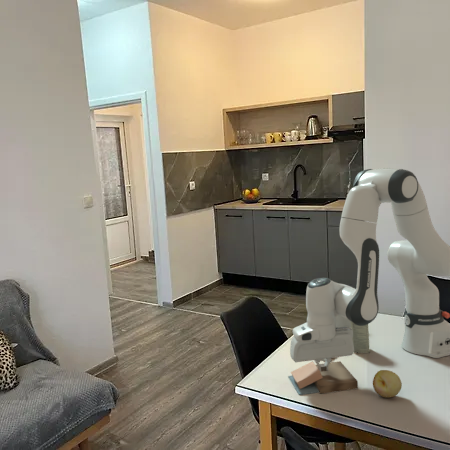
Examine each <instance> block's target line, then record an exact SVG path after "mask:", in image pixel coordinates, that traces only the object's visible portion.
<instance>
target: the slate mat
mask: <svg viewBox="0 0 450 450" xmlns="http://www.w3.org/2000/svg"><path fill="white" fill-rule="evenodd" d="M288 379H289V380H290V382H291V384H292V385H293V388H294V389H295V391H296V393H297V394H298V396H303V395H309V394H316V393H320V392H319V390H318V389H317V387H316V386H315V384H314V383H311V384H309V385H307V386H305V387H303V388H301V389H300V388H299V387H298V385H297V383H296V382H295V380H294V378H293V376H292V375H288Z"/></svg>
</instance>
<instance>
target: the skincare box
mask: <svg viewBox="0 0 450 450" xmlns="http://www.w3.org/2000/svg"><path fill="white" fill-rule="evenodd" d="M350 322H351V321H350ZM351 329H352V330H353V338H352V340H353V345H354V353H357V352H358V353H362V354H370V338H369V337H370V334H369V324H367V325H364V326H358V325H356V324H354V323H353V322H351Z"/></svg>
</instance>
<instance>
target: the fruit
mask: <svg viewBox="0 0 450 450" xmlns="http://www.w3.org/2000/svg"><path fill="white" fill-rule="evenodd" d="M402 384H403V383H402V380H401V378H400V376H399V375H398V374H397V373H396V372H393V370H388V369H380V370H379V371H377V372H376V373H375V374H374V376H373V378H372V387H373V389H374V391H375V392H376V394H377V395H379V396H380V397H382V398H394V397H396V396H397V395H398V394H399V393H400V392H401V389H402V387H403V386H402Z"/></svg>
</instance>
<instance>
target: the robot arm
mask: <svg viewBox="0 0 450 450" xmlns="http://www.w3.org/2000/svg"><path fill="white" fill-rule="evenodd" d="M352 184H353V185H352V187H351V188H350V190H349V191H348V194H347V196H346V198H345V201H344V205H343V208H342V212H341V217H340V221H339V222H340V223H339V237H340V239H341V241H342V242H343V244H344V245H345V246H346V247H347V248H348V249H349V250H350V251H351V252H352V253H353V255H354V256H355V258H356V262H357V278H356V288H355V287H352V286H350V285H347V284H344V283H338V282H336V281H333V280H331V279H330V278H329V277H317V278H314V279H312V280H310V281H309V283H307V286H306V290H305V291H306V293H305V307H306V311H307V317H306V322H304V323H302V324H300V325H297V326H295V327H294V328H292V334H293V336H292V338H291V339H290V348H289V349H290V351H289V353H290V354H289V355H290V357H291V359H292V361H293V362H294V363H302V362H309V361H310V362H312V361H314V363H316V364H315V365H318V369H319V371H320V372H322V371H328V366H329V364H330V363H331V362H332V359H333V358H340V357H349V356H353V354H354V353H355V352H354V345H353V340H352V338H353V330H352V329H351V328H349V327H347V326H345V327H337V328H336V326H335V317H336V316H337V315H341V316H343V317H345V318H347V319H348V320H350V321H351V322H353V323H354V324H356V325H358V326H364V325H367V324H368V325H369V324H371V323H372V322H373V321H374V320H375V319H376V318H377V316H378V313H379V307H380V306H379V297H378V296H379V295H378V284H379V272H380V271H379V268H380V248H379V244H378V242H377V224H378V217H379V210H380V206H381V204H382V203H383V204H384V203H387V204H388V203H390V206H391V210H392V214H393V218H394V222H395V225H396V230H397V232H398V233H399V235H400V236H401V237H402V238H404V239H405V240H402V239H401V240H395V241H393V242H392V243H391V244H390V245H389V247H388V250H387V254H386V255H387V260H388V263H389V264H390V265H391V266H392V267H393V268H394V269H395V270H396V272H397V273H398V275H399V277H400V280H401V282H402V284H403V289H404V294H405V295H404V296H405V298H404V299H405V308H404V314H403V315H404V331H403V332H404V333H403V338H402V341H401V344H400V345H401V348H402V349H403V350H405V351H406V352H408V353H411V354H415V355H418V356H419V355H420V356H425V357H430V358H434V359H439V358H444V357H449V356H450V323H449V322H448V321H447V320H446V319H449V318H450V313H449V312H447V311H443V310H441V309H440V291H439V289H438V287H437V286H436V285H435V284H434V283H433V282H432V281H431V280H430V279H429V277H428V276H433V277H450V245H449V244H448V243H446V241H445V240H444V239H443V238H442V236H440V234H439V233H438V232H437V230H436V229H435V227H434V224H433V222H432V220H431V214H430V212H429V211H430V210H429V208H428V203H427V199H426V197H425V194H424V191H423V189H422V186H421V184H420V183H419V181H418V179H417V176H416V175H415V173H413V172H412V171H410V170H408V169H403V168H399V169H397V168H390V167H389V168H388V167H387V168H385V167H384V168H374V169H373V168H368V169H364V170H361V171H360V172H358V173H357V175H356V176H355V179H354V180H353V183H352ZM444 318H445V319H444ZM320 359H326V361H324V362H323V363H320V362H321V360H320Z"/></svg>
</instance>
